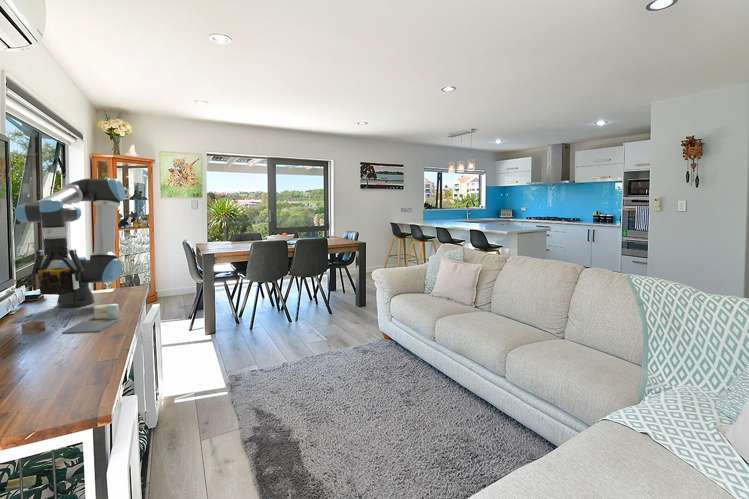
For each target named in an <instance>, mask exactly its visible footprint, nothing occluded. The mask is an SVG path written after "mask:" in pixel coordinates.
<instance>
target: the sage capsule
mask: <svg viewBox="0 0 749 499" xmlns="http://www.w3.org/2000/svg"><path fill="white" fill-rule="evenodd" d="M108 304H109V303H108ZM106 305H107V304H106ZM106 308H107V318H106V319H107V320H118V319H120V309H119V304H118V303H110V304H109V305H107V306H106Z"/></svg>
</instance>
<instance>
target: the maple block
mask: <svg viewBox="0 0 749 499" xmlns="http://www.w3.org/2000/svg"><path fill="white" fill-rule="evenodd" d="M107 305H109V303H108V304H107V303H106V304H100V305H99V304H98V305H94V307H93V313H94V320H100V319H108V318H107V308H106V306H107Z"/></svg>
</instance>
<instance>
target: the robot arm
mask: <svg viewBox="0 0 749 499" xmlns="http://www.w3.org/2000/svg"><path fill="white" fill-rule="evenodd" d="M125 199H126V190H125V187H124V184H123V183H122V181H120V179H118V178H109V177H107V178H83V179H78V180H75V181H73V182H70V183H68V184H66V185H63V186H62V187H61V189H60V190H58V191H56V192H54V193H52V194H50V195H47V196H45V197H43V198H41V199H38V200H37V201H35V202H33V203H31V204H26V203H24V204H18V205H16V207H15V208H14V216H15V219H16V220H17V221H18V222H20V223H29V224H30V223H41V231H42V237H43V238H44V239H43V246H44V250H43V249H40V250H36V252H35V253H36V258H35V260H34V264H33V268H32V271H31V273H32V274H34V275H37V279H38V280H39V274H38V271H40V270H45V269H49V266H50V265H51V263H52V261H56V260H57V261H58V262H57V267H69V268H70V269H71V270H72V271H73V274H72V280H73V289H78V288H79V281H80V283H81V290H78V291H74V292H70V293H67V294H62V295H58V298H57V301H56V303H57V307H58V308H61V309H62V308H63V309H64V308H67V309H68V308H77V307H81V306H87V305H91V304H94V303H95V297H94V294H93V292H92V290H91V289H90V284H95V283H100V284H101V283H113V282H117V281H118V279H120V277H121V274H122V270H123V264H122V260H120V259H119V258H118V255H117V254H116V253H115V247H116V246H115V243H116V226H117V225H116V223H117V209H118V208H119V207H120V206H121V202H124V201H125ZM80 202H93V205H95V206H96V210H95V211H96V212H95V213H96V214H95V225H94V226H95V227H94V228H95V230H94V243H93V244H94V246H93V253H91V254H90V255H89V259H88V258H87V257H86V256H80V257H78V256H79V255H78V253H77V249H75V248H73V249H68V241H67V240H68V239H67V238H66V236H67V233H66V232H67V231H66V223H67V222H69V223H70V222H74V221H78V220H79V219H80V218H81V216H82V211H81V208H80V207H79V206H77V205H76V204H78V203H80ZM68 255H69V256H70V257H69V256H68ZM44 256H46V257H45V259H44ZM43 259H44V261H43Z"/></svg>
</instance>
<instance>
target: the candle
mask: <svg viewBox="0 0 749 499" xmlns="http://www.w3.org/2000/svg"><path fill="white" fill-rule="evenodd" d="M38 274H39V279H38V282H39V291H40V292H39V293H40V295H42V296H43V295H49V296H51V295H52V296H53V295H55V296H56V295H57V296H59V295H62V294H67V293H70V292H74V291H78V290H81V283H80V281H79V288H78V289H73V280H72V274H73V271H72V270H71V269H70V268H69V267H58V266H56V267H51V268H47V269H45V270H40V271H38Z"/></svg>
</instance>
